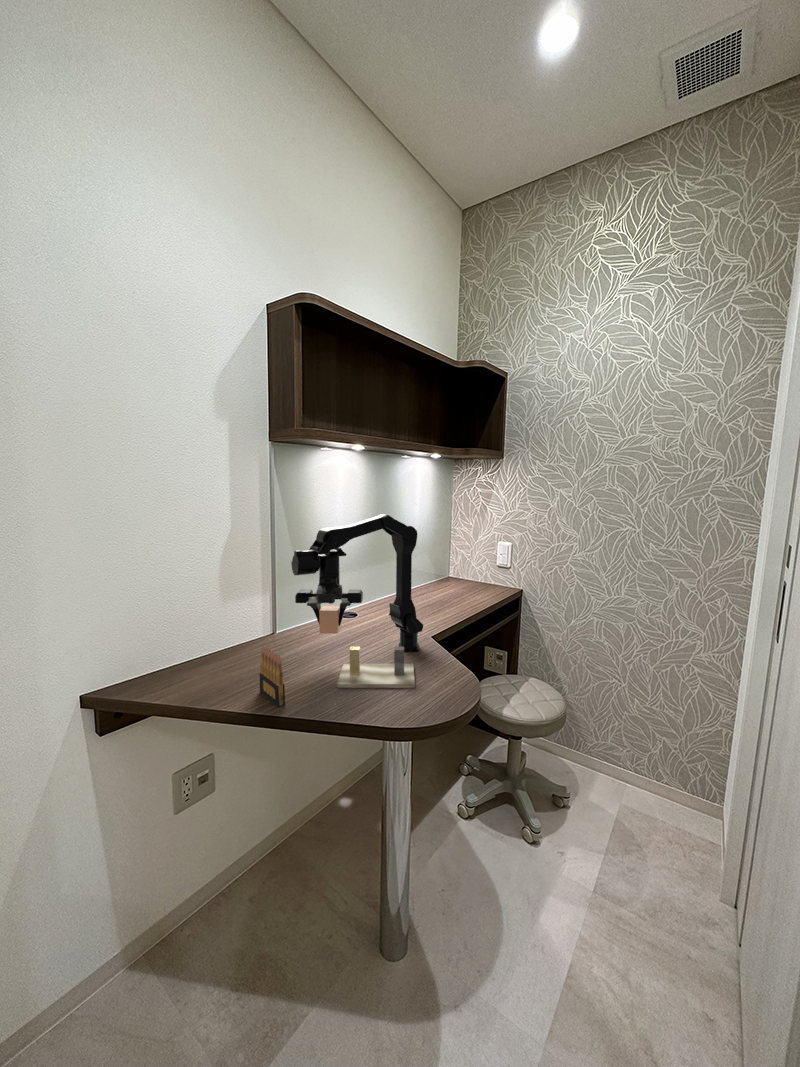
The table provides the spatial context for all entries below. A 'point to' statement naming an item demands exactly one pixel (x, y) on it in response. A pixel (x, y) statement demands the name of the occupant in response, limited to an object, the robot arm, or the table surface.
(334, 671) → the table surface
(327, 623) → the peach rectangular block
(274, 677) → the ammunition clip
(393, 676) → the post board
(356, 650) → the post
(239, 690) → the table surface
